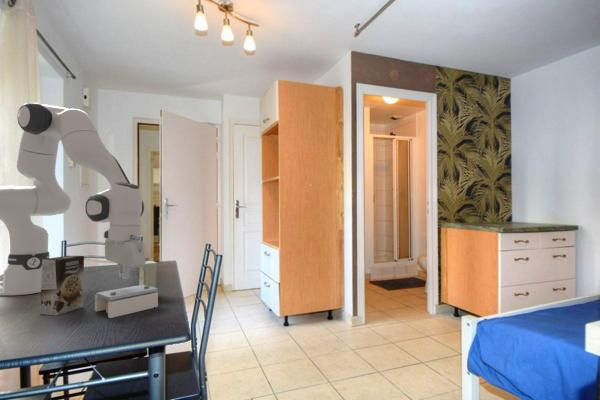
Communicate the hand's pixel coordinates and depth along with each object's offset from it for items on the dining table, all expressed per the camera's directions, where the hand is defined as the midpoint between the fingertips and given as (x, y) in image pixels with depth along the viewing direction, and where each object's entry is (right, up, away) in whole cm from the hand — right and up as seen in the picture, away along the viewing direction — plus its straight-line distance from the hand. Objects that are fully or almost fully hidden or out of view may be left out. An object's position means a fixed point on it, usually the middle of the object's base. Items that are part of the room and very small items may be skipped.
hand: (123, 278), depth 104 cm
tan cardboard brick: (0, -9, -3) cm, 10 cm away
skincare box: (+2, -10, +13) cm, 16 cm away
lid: (+2, -4, -2) cm, 5 cm away
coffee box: (-17, -9, -3) cm, 19 cm away
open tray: (+2, -9, -2) cm, 9 cm away
